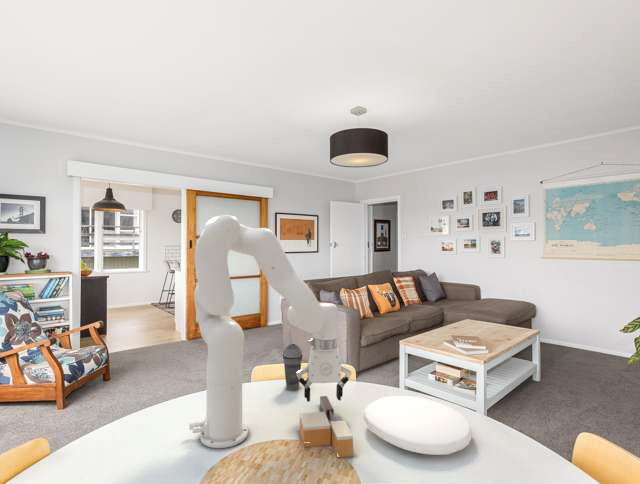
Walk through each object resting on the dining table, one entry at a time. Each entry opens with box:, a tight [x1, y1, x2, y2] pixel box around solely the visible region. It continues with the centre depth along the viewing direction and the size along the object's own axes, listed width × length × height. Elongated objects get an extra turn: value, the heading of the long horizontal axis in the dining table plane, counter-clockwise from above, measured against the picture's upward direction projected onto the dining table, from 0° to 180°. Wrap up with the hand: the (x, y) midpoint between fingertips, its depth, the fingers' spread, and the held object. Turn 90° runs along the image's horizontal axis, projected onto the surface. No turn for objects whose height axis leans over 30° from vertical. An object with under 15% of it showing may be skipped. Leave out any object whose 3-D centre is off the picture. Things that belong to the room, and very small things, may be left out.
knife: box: [319, 395, 336, 423], centre depth 109 cm, size 2×19×3 cm, turn 9°
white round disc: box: [363, 395, 473, 456], centre depth 101 cm, size 28×6×27 cm
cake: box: [299, 411, 332, 448], centre depth 99 cm, size 7×8×5 cm
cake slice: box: [329, 420, 354, 458], centre depth 94 cm, size 4×8×5 cm, turn 9°
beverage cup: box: [282, 331, 304, 391], centre depth 133 cm, size 7×7×20 cm
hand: (323, 399), depth 114 cm, fingers open, 9 cm apart
